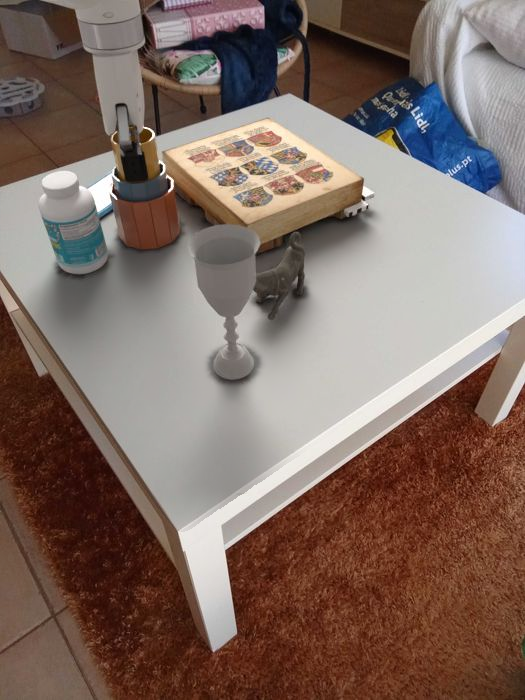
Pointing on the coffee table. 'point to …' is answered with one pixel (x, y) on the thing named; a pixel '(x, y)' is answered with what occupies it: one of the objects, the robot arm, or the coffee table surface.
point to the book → (264, 181)
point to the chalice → (227, 286)
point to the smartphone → (102, 194)
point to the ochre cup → (147, 147)
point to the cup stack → (145, 210)
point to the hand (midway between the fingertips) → (138, 166)
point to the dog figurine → (282, 276)
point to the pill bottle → (72, 223)
